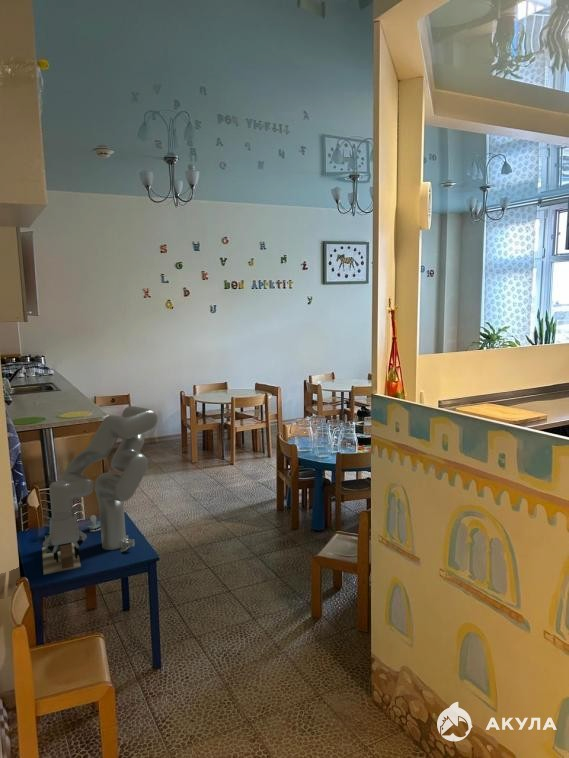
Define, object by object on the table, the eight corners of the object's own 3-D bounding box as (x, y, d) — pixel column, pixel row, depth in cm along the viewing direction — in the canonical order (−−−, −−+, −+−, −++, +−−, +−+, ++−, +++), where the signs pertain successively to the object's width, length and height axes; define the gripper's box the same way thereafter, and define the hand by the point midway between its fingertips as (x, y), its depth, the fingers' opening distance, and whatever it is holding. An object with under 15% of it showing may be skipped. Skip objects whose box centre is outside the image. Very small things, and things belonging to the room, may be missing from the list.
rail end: (73, 566, 213) (71, 544, 212) (62, 568, 212) (60, 546, 210) (72, 561, 217) (70, 539, 215) (61, 564, 215) (59, 542, 214)
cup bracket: (66, 559, 219) (64, 536, 217) (47, 563, 216) (45, 540, 214) (64, 544, 231) (62, 522, 230) (46, 548, 229) (44, 526, 227)
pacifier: (106, 528, 251) (97, 524, 254) (105, 515, 250) (97, 511, 253) (92, 534, 245) (83, 530, 248) (91, 520, 244) (83, 517, 247)
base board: (81, 570, 213) (80, 566, 213) (43, 578, 208) (43, 574, 208) (76, 544, 235) (76, 541, 235) (42, 551, 230) (42, 547, 229)
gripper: (86, 506, 218) (89, 550, 221) (37, 514, 211) (41, 559, 214) (88, 513, 211) (91, 558, 214) (37, 522, 204) (42, 568, 207)
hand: (66, 558), depth 214 cm, fingers open, 6 cm apart
